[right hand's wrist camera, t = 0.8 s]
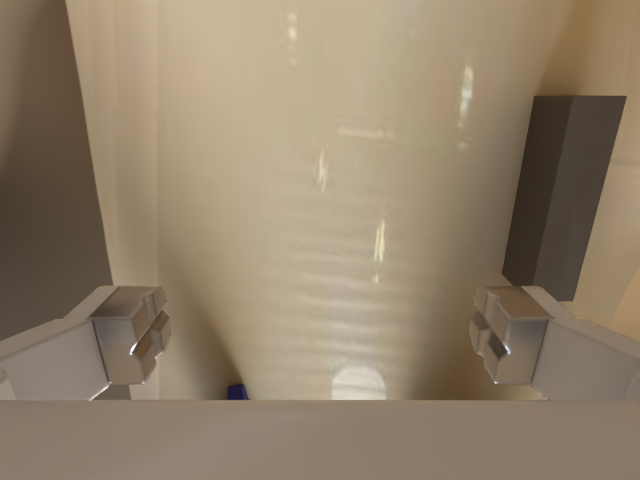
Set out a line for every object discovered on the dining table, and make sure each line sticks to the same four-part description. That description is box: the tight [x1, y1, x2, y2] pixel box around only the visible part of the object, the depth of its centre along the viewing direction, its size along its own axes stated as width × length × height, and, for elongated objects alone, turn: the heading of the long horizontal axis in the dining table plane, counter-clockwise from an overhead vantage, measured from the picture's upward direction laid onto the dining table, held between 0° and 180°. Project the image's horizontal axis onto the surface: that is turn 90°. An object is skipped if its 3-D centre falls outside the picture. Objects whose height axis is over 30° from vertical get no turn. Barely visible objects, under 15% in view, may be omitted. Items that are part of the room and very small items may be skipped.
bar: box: [502, 96, 627, 301], centre depth 50 cm, size 26×6×8 cm, turn 1°
